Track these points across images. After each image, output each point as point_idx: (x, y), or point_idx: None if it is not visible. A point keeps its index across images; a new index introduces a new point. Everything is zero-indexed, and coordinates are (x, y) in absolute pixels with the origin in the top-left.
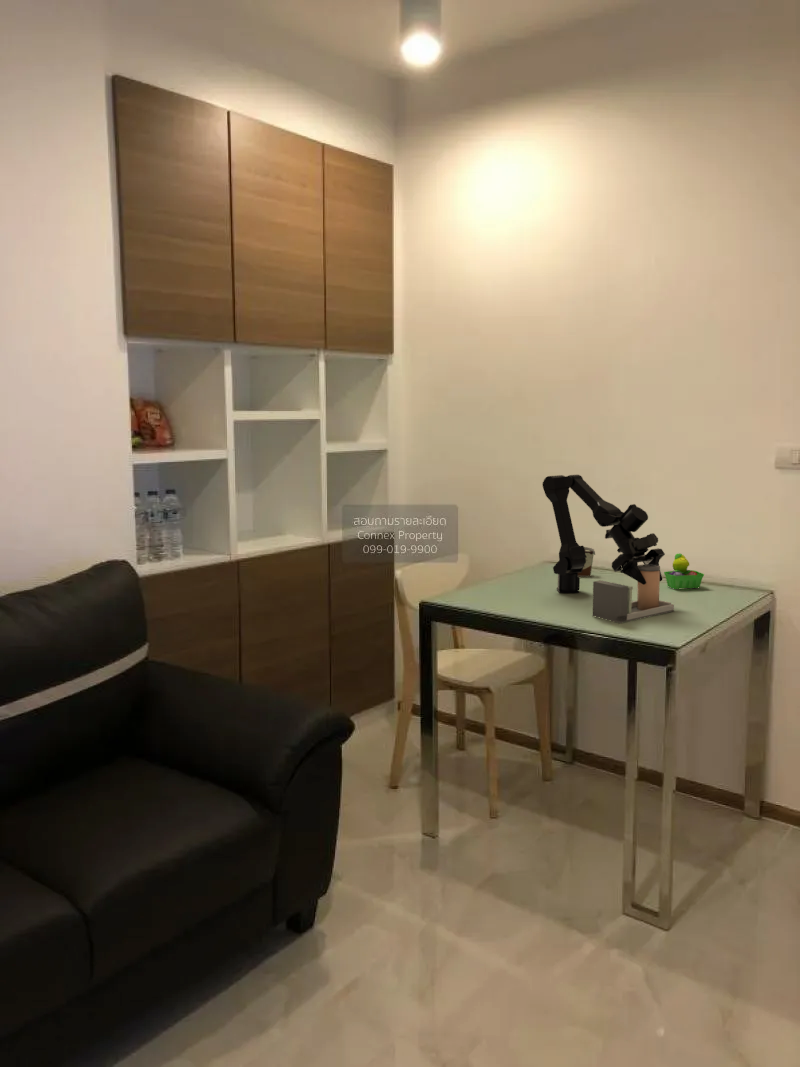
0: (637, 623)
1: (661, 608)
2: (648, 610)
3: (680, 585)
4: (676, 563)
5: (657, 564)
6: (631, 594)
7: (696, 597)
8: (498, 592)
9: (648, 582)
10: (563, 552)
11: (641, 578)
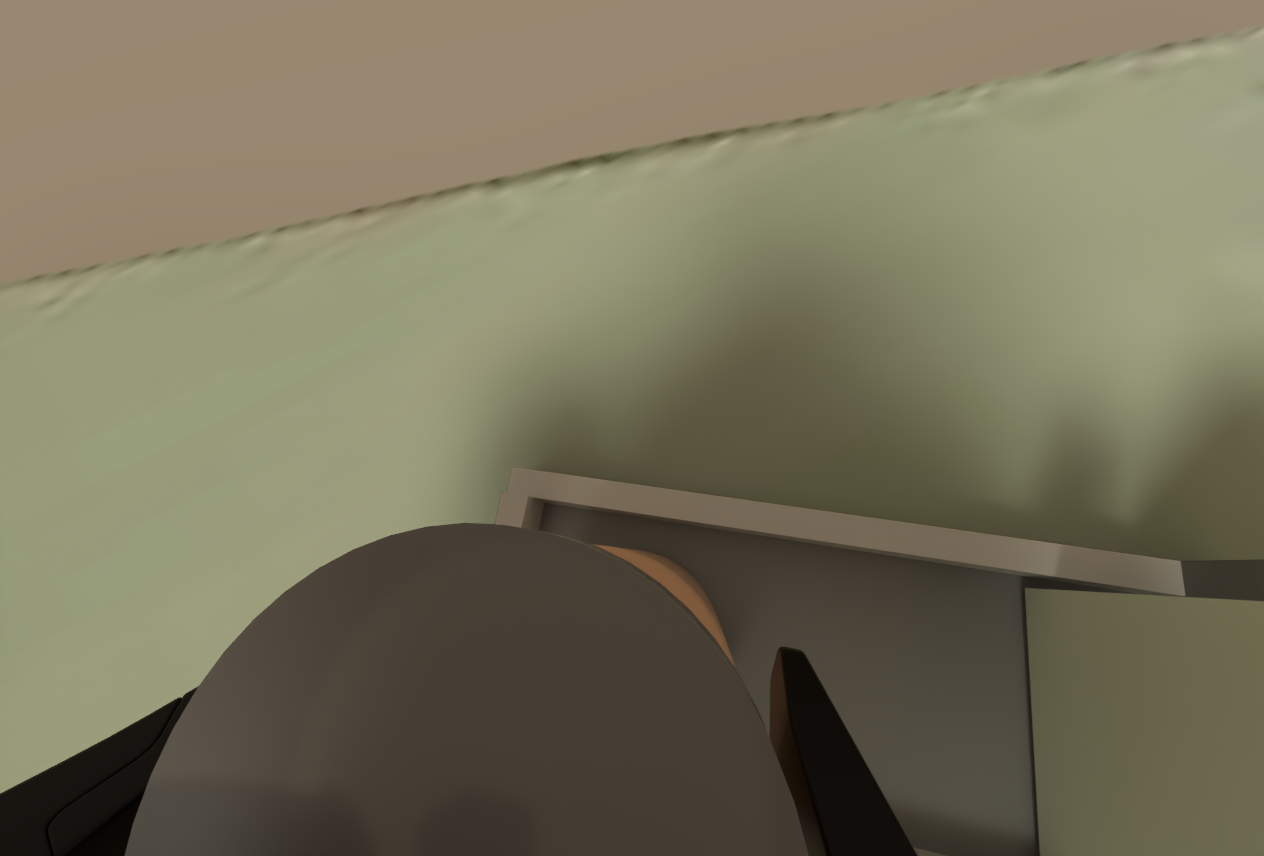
0: (1077, 472)
1: (668, 489)
2: (844, 514)
3: None
4: None
5: (11, 827)
6: (1260, 601)
7: (50, 573)
8: None
9: (720, 635)
10: None
11: (853, 756)
